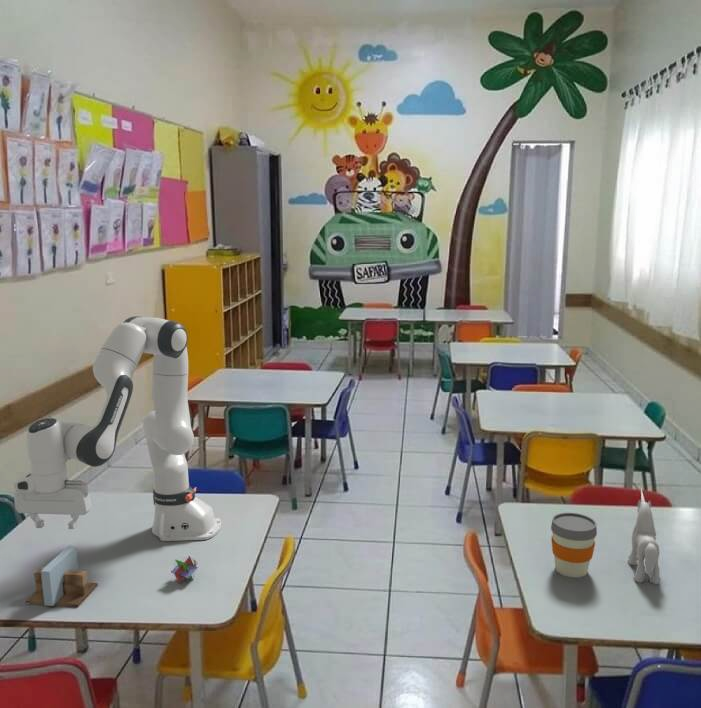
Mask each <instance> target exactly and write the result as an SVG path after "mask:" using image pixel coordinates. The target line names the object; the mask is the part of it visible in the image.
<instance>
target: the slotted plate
mask: <svg viewBox="0 0 701 708" xmlns="http://www.w3.org/2000/svg"><path fill="white" fill-rule="evenodd" d="M78 561H79V560H78V553H77V545H75V546H74V545H68V546H66V547H65V548H64V549H63V550H62V551H60V552H59V553H58V554H57V556H56V557H55V558H53V559H52V560H51V561H50V562H49V563H47V565H46V566H45V567H43V568H42V569H43V570H41V578H42V587H43V596H44V604H45V605H44V606H45V607H46V606H49V607H51V606H52V607H53V606H54V605H55V603H56V602H57V601H58V600H59V599H60V598H61V597H62V596H63V595H64V594H63V584H62V583H63V582H64V581H65V579H64V574H65V573H66V572H67V571H68V570H74V571H80V570H79V562H78Z"/></svg>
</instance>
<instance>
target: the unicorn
mask: <svg viewBox="0 0 701 708" xmlns="http://www.w3.org/2000/svg"><path fill="white" fill-rule="evenodd" d="M640 495H641V497H640V498H641V499H639V500H638V502H637V515H636V516H637V517H636V521H635V524H634V528H633V530H632V534H631V552H630V554H629V556H628V557H627V558H628V559H627V563H628V564H629V565H633V566H636V565H637V566H636V570H635V573H634V577H633V580H634V582H638V583H643V582H645V574H646V573H647V575H648V576H649V581H650V583H651V584H654V585H660V583H661V582H660V581H661V578H660V567H659V558H660V557H659V556H660V553H661V552H660V546H659V544H658V543H657V532H656V527H655V523H654V518H653V512H652V502H651V500H650V499H649V500H648V502H647V501H646V500H645V496H644V494H643V489H642V488H640ZM645 572H646V573H645Z"/></svg>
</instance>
